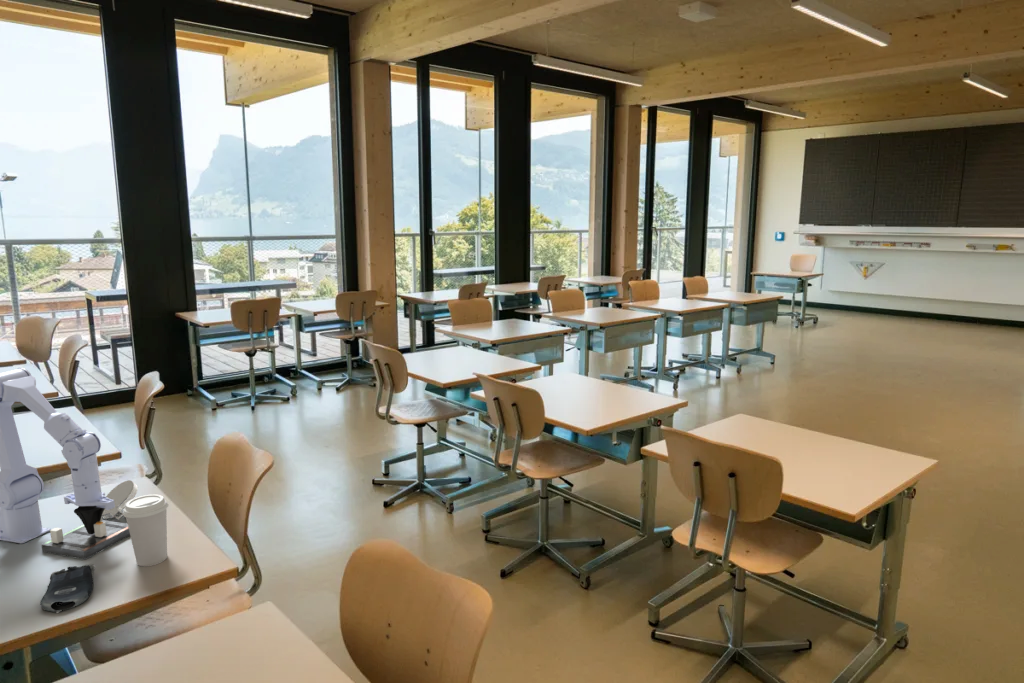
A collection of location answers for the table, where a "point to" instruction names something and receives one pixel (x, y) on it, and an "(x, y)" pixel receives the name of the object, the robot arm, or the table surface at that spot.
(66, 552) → the grey slider switch panel
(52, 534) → the block
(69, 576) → the electronic device
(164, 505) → the coffee cup
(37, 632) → the table surface
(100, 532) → the block
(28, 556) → the table surface
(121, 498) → the tabbed white plastic disc
